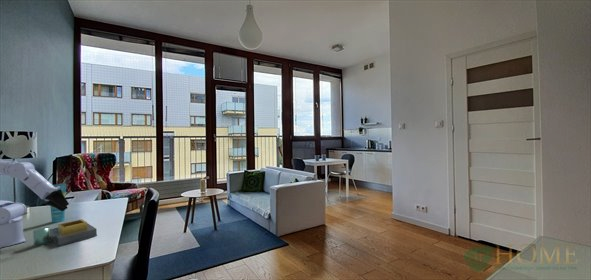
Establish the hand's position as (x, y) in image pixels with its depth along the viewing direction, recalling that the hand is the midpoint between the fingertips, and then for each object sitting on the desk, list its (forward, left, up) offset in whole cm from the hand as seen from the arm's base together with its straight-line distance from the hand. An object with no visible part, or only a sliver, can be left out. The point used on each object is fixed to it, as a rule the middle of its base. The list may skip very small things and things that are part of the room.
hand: (65, 207), depth 108 cm
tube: (+3, +33, -13) cm, 35 cm away
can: (-8, -2, -12) cm, 15 cm away
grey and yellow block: (+2, -2, -12) cm, 13 cm away
